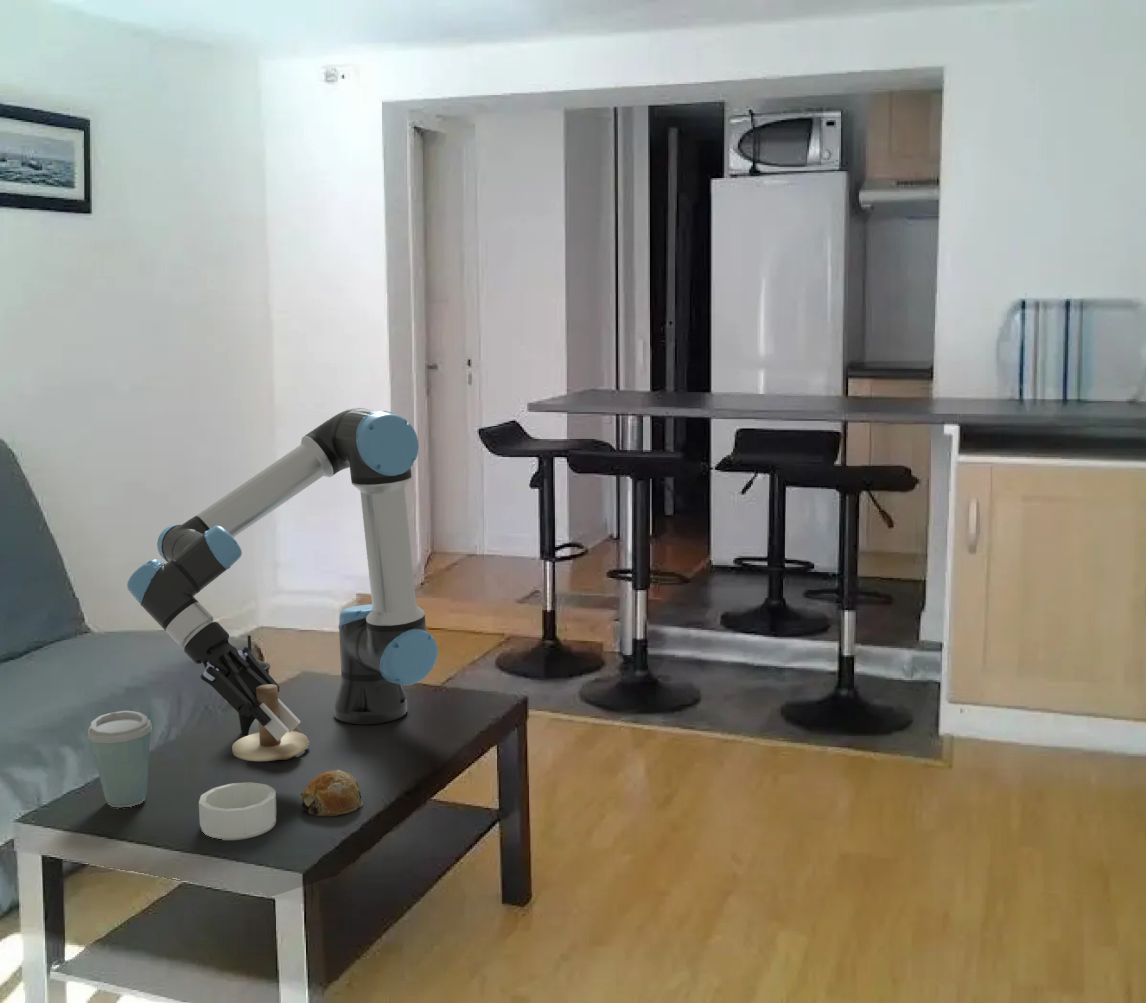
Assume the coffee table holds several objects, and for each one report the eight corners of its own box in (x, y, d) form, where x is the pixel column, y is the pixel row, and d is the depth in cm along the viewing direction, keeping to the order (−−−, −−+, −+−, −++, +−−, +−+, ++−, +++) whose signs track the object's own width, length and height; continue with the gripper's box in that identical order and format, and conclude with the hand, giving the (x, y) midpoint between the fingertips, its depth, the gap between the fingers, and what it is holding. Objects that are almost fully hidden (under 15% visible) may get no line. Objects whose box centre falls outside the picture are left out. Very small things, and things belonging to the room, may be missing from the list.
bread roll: (355, 836, 214) (374, 793, 214) (298, 818, 211) (317, 774, 211) (348, 813, 224) (366, 772, 224) (293, 795, 221) (312, 754, 220)
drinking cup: (279, 727, 258) (274, 631, 255) (264, 739, 251) (259, 641, 248) (244, 725, 260) (239, 630, 256) (227, 737, 252) (222, 640, 249)
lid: (287, 729, 232) (283, 671, 231) (321, 748, 222) (318, 688, 221) (220, 746, 224) (215, 686, 222) (252, 767, 214) (248, 704, 213)
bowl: (256, 804, 218) (255, 777, 218) (288, 826, 209) (287, 798, 208) (189, 823, 211) (187, 794, 210) (219, 846, 202) (218, 817, 201)
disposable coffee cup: (164, 805, 218) (159, 722, 216) (99, 819, 213) (93, 734, 210) (148, 786, 227) (143, 705, 225) (85, 798, 222) (79, 716, 219)
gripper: (212, 635, 233) (299, 728, 231) (159, 661, 217) (252, 761, 215) (236, 608, 230) (324, 702, 228) (184, 633, 214) (278, 734, 213)
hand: (289, 731), depth 222 cm, fingers closed on lid, 4 cm apart
